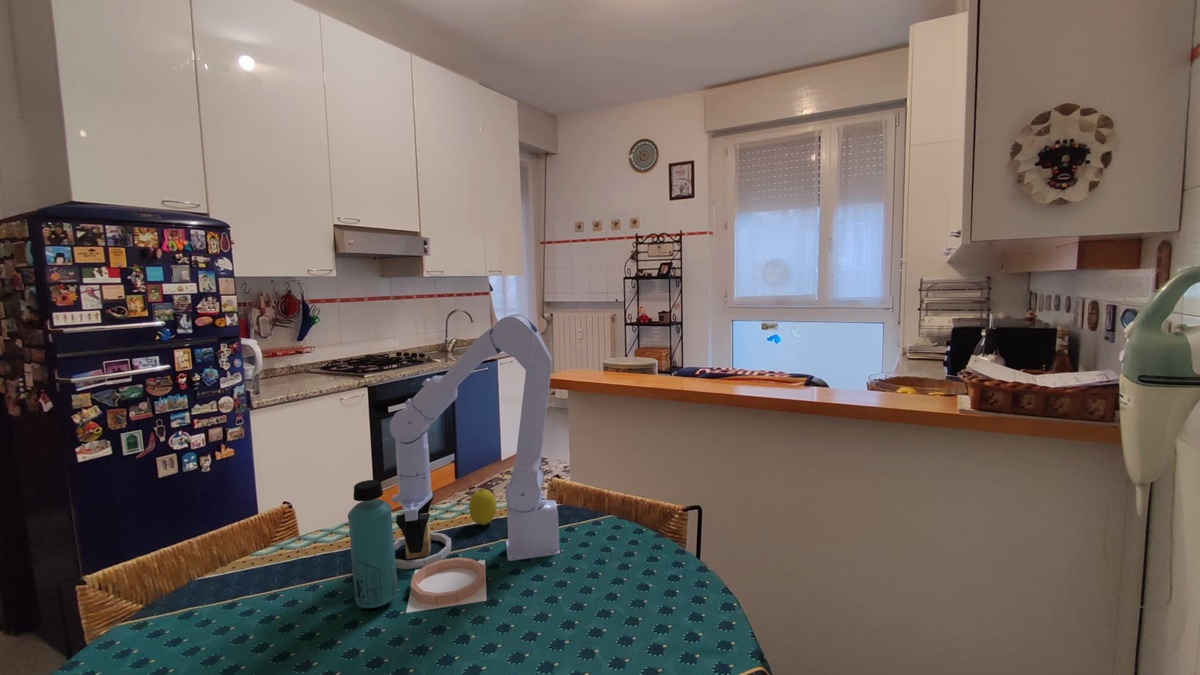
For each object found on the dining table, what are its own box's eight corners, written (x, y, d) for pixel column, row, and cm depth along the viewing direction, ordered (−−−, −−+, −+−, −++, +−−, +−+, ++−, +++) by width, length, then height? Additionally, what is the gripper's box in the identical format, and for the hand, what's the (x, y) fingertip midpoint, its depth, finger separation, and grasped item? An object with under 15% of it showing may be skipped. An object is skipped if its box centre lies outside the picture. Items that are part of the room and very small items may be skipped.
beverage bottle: (408, 597, 86) (400, 476, 84) (378, 622, 80) (369, 492, 78) (375, 591, 88) (366, 473, 86) (344, 615, 82) (334, 488, 80)
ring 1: (452, 536, 107) (451, 529, 107) (449, 565, 96) (449, 557, 96) (390, 544, 105) (390, 536, 105) (380, 574, 94) (380, 566, 93)
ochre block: (431, 548, 103) (428, 512, 102) (429, 558, 99) (427, 521, 98) (409, 551, 102) (406, 515, 101) (406, 561, 98) (403, 524, 97)
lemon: (500, 520, 114) (498, 483, 114) (492, 532, 109) (490, 493, 108) (475, 519, 115) (473, 483, 114) (466, 531, 109) (464, 493, 109)
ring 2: (484, 562, 96) (483, 554, 96) (485, 598, 85) (484, 588, 85) (415, 571, 93) (415, 563, 93) (407, 609, 82) (407, 600, 82)
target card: (485, 562, 97) (485, 559, 97) (486, 602, 84) (486, 600, 84) (415, 571, 94) (415, 569, 94) (406, 615, 82) (405, 612, 82)
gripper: (396, 461, 105) (400, 528, 106) (384, 487, 91) (389, 564, 92) (433, 458, 107) (437, 523, 108) (427, 483, 93) (432, 558, 94)
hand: (418, 542), depth 100 cm, fingers open, 7 cm apart
